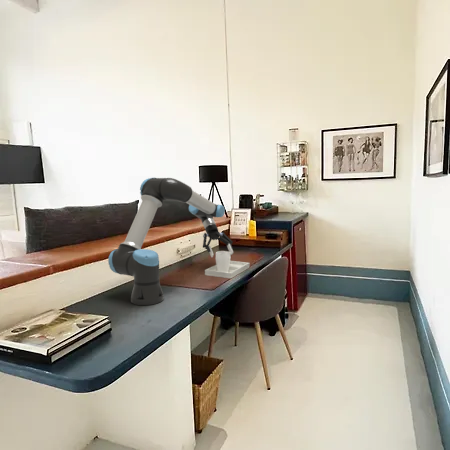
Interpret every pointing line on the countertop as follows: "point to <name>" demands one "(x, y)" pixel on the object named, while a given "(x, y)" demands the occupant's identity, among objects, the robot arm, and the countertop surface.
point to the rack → (233, 270)
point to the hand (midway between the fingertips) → (222, 254)
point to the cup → (223, 261)
